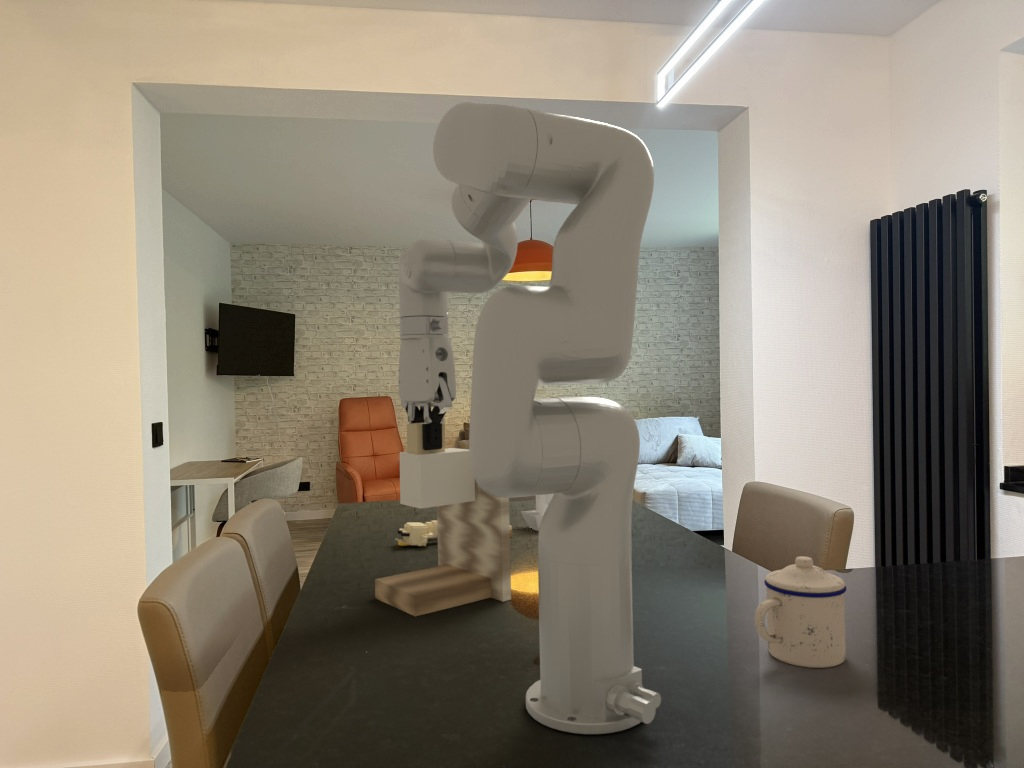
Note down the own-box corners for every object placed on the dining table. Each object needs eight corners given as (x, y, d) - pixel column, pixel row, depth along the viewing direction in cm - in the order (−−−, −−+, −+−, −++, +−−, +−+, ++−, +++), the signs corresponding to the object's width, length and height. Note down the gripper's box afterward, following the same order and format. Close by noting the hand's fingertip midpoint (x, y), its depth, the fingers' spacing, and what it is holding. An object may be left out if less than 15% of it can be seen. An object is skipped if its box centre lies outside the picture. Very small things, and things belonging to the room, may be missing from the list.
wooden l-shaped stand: (511, 599, 111) (508, 456, 111) (426, 621, 101) (423, 465, 101) (446, 576, 125) (443, 450, 125) (366, 594, 115) (363, 457, 115)
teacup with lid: (805, 637, 92) (803, 546, 92) (865, 661, 84) (863, 561, 84) (730, 653, 87) (728, 556, 87) (787, 680, 79) (785, 574, 79)
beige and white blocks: (474, 500, 113) (473, 421, 113) (420, 508, 107) (419, 425, 107) (453, 496, 118) (452, 420, 118) (400, 503, 112) (399, 423, 112)
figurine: (538, 533, 159) (536, 466, 159) (519, 526, 168) (517, 462, 168) (566, 530, 162) (564, 464, 163) (546, 523, 171) (544, 460, 171)
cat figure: (498, 537, 163) (390, 540, 153) (500, 499, 163) (392, 499, 153) (516, 546, 154) (402, 549, 144) (518, 505, 154) (405, 506, 144)
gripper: (474, 327, 107) (476, 450, 107) (417, 334, 120) (419, 444, 120) (432, 325, 103) (434, 454, 103) (377, 332, 115) (378, 447, 115)
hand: (426, 447), depth 111 cm, fingers closed on beige and white blocks, 3 cm apart
